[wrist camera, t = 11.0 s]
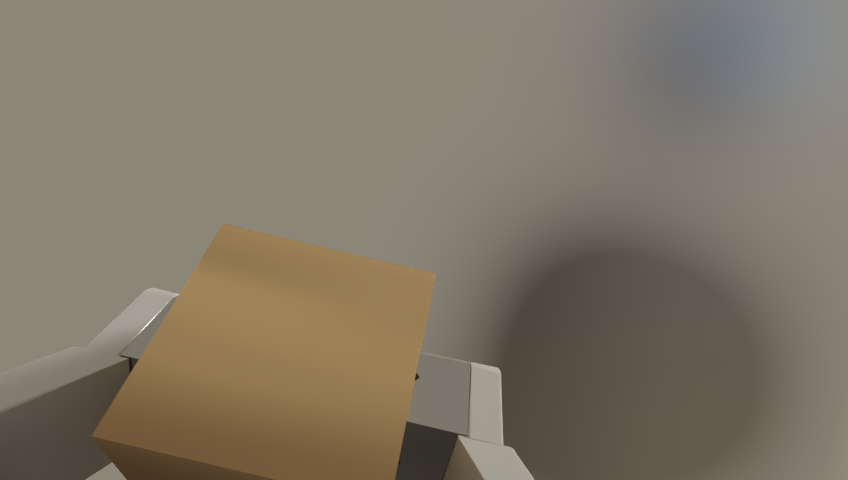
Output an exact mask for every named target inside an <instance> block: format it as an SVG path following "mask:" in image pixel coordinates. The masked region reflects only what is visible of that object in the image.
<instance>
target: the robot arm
mask: <svg viewBox="0 0 848 480" xmlns="http://www.w3.org/2000/svg"><path fill="white" fill-rule="evenodd" d="M178 295H179V294H176V293H172V292H168V291H164V290H161V289H157V288H150V289H147V290H145V291H143V292H142V293H141V294H140V295H139V296H138V297H137V298H136V299H135V300H134V301H133V302H132V303H131V304H130V305H128V306H127V307H126V308H125V309H124V310H123V311H122V312H121V313H120V314H119V315H118V316H117V317H116V318H115V319H114V320H113V321H112V322H111V323H110V324H109V325H108V326H107V327H106V328H105V329H104V330H102V331H101V332H100V333H99V334H98V336H96V337H95V338H94V339H93V340H92V341H91V342H90V343H89V344H88V345H87V346H86V347H85V348H82V347H77V346H74V347H71V348H68V349H65V350H62V351H60V352H57V353H54V354H51V355H49V356H46V357H43V358H40V359H38V360H35V361H32V362H29V363H26V364H24V365H21V366H18V367H15V368H12V369H10V370H7V371H4V372H2V373H0V480H85V479H87V478H88V477H90V476H91V475H93V474H94V473H96V472H97V471H99V470H101V469H102V468H104V467H105V466H107V465H108V464H110V463H111V462H112V461H111V460H110V458H109V457H108V456H107V455H106V453H105V452H104V451H103V450H102V449H101V447H100V446H99V445H98V444H97V442H96V441H95V440H94V439H93V438H92V434H93V433H94V431H95V429H96V428H97V426H98V425H99V423H100V421H101V420H102V418H103V417H104V415H105V413H106V412H107V410H108V408H109V407H110V405H111V404H112V402H113V400H114V399H115V397H116V396H117V394H118V392H119V391H120V389H121V387H122V386H123V384H124V383H125V381H126V379H127V378H128V376H129V374H130V373H131V371H132V370H133V368H134V366H135V365H136V363H137V362H138V360H139V358H140V357H141V355H142V353H143V352H144V350H145V349H146V347H147V345H148V344H149V342H150V341H151V339H152V337H153V336H154V334H155V332H156V331H157V329H158V328H159V326H160V324H161V323H162V321H163V319H164V318H165V316H166V315H167V313H168V311H169V310H170V308H171V307H172V305H173V303H174V302H175V300H176V298H177V297H178ZM395 480H534V478H533V477H532V476H531V474H530V473H529V471H528V470H527V468H526V467H525V465H524V464H523V463H522V461H521V460H520V458H519V457H518V455H517V454H516V452H515V451H514V450H513V448H511V447H508V446H504V445H503V425H502V394H501V372H500V370H499V368H497V367H492V366H487V365H482V364H477V363H473V362H470V363H469V362H466V361H461V360H456V359H453V358H448V357H444V356H439V355H435V354H431V353H426V352H422V351H420V356H419V361H418V366H417V371H416V376H415V381H414V386H413V391H412V396H411V401H410V406H409V412H408V417H407V422H406V427H405V432H404V437H403V442H402V447H401V452H400V457H399V462H398V467H397V472H396V477H395Z"/></svg>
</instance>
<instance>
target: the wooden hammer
mask: <svg viewBox="0 0 848 480" xmlns="http://www.w3.org/2000/svg"><path fill="white" fill-rule="evenodd" d="M435 276H436V274H434V273H430V272H426V271H422V270H417V269H413V268H409V267H405V266H400V265H396V264H392V263H388V262H384V261H380V260H375V259H371V258H367V257H363V256H358V255H354V254H350V253H346V252H342V251H337V250H333V249H329V248H325V247H320V246H316V245H312V244H308V243H303V242H299V241H295V240H291V239H286V238H283V237H279V236H274V235H270V234H266V233H262V232H257V231H253V230H249V229H245V228H241V227H237V226H232V225H228V224H224V223H223V224H222V226H221V227H220V229H219V231H218V232H217V234H216V235H215V237H214V239H213V240H212V242H211V244H210V245H209V247H208V248H207V250H206V252H205V253H204V255H203V256H202V258H201V260H200V261H199V263H198V265H197V266H196V268H195V269H194V271H193V273H192V274H191V276H190V277H189V279H188V281H187V282H186V284H185V286H184V287H183V289H182V290H181V292H180V294H179V295H178V297H177V298H176V300H175V302H174V303H173V305H172V307H171V308H170V310H169V311H168V313H167V315H166V316H165V318H164V319H163V321H162V323H161V324H160V326H159V328H158V329H157V331H156V332H155V334H154V336H153V337H152V339H151V341H150V342H149V344H148V345H147V347H146V349H145V350H144V352H143V353H142V355H141V357H140V358H139V360H138V362H137V363H136V365H135V366H134V368H133V370H132V371H131V373H130V374H129V376H128V378H127V379H126V381H125V383H124V384H123V386H122V387H121V389H120V391H119V392H118V394H117V396H116V397H115V399H114V400H113V402H112V404H111V405H110V407H109V408H108V410H107V412H106V413H105V415H104V417H103V418H102V420H101V421H100V423H99V425H98V426H97V428H96V429H95V431H94V433H93V434H92V438H93V439H94V440H95V441H96V442H97V444H98V445H99V446H100V447H101V449H102V450H103V451H104V452H105V453H106V455H107V456H108V457H109V458H110V460H111V461H112V462H113V463H114V464H115V465H116V467H117V468H118V469H119V471H120V472H121V473H122V474H123V475H124V477H125V478H126V479H127V480H395V477H396V472H397V467H398V462H399V457H400V452H401V447H402V442H403V437H404V432H405V427H406V422H407V417H408V412H409V406H410V401H411V396H412V391H413V386H414V381H415V376H416V371H417V366H418V361H419V356H420V351H421V346H422V341H423V336H424V331H425V326H426V321H427V316H428V311H429V306H430V301H431V296H432V291H433V286H434V281H435Z"/></svg>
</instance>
